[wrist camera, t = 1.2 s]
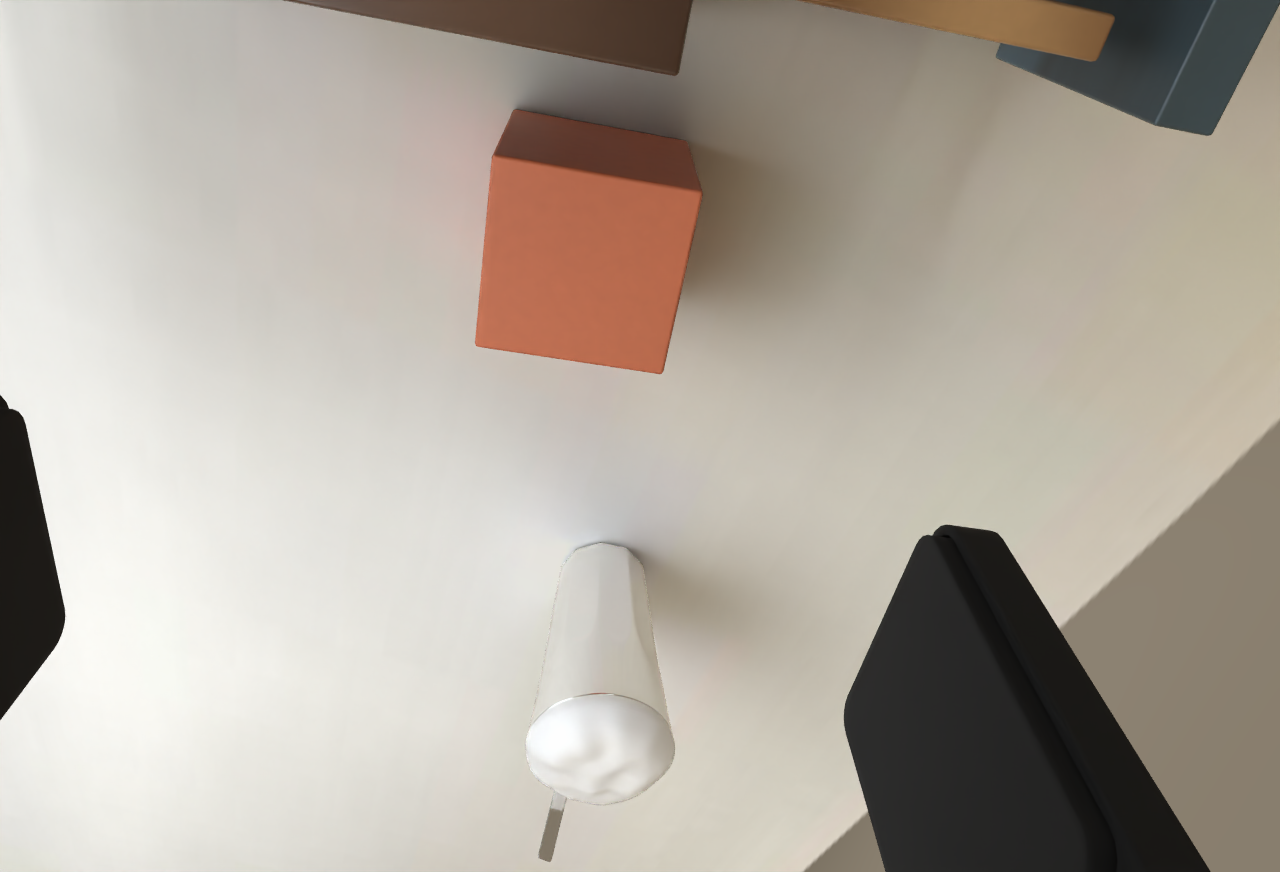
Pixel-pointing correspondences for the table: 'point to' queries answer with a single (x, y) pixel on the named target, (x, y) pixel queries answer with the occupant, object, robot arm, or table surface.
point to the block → (586, 242)
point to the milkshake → (599, 689)
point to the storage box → (1110, 47)
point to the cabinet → (550, 25)
